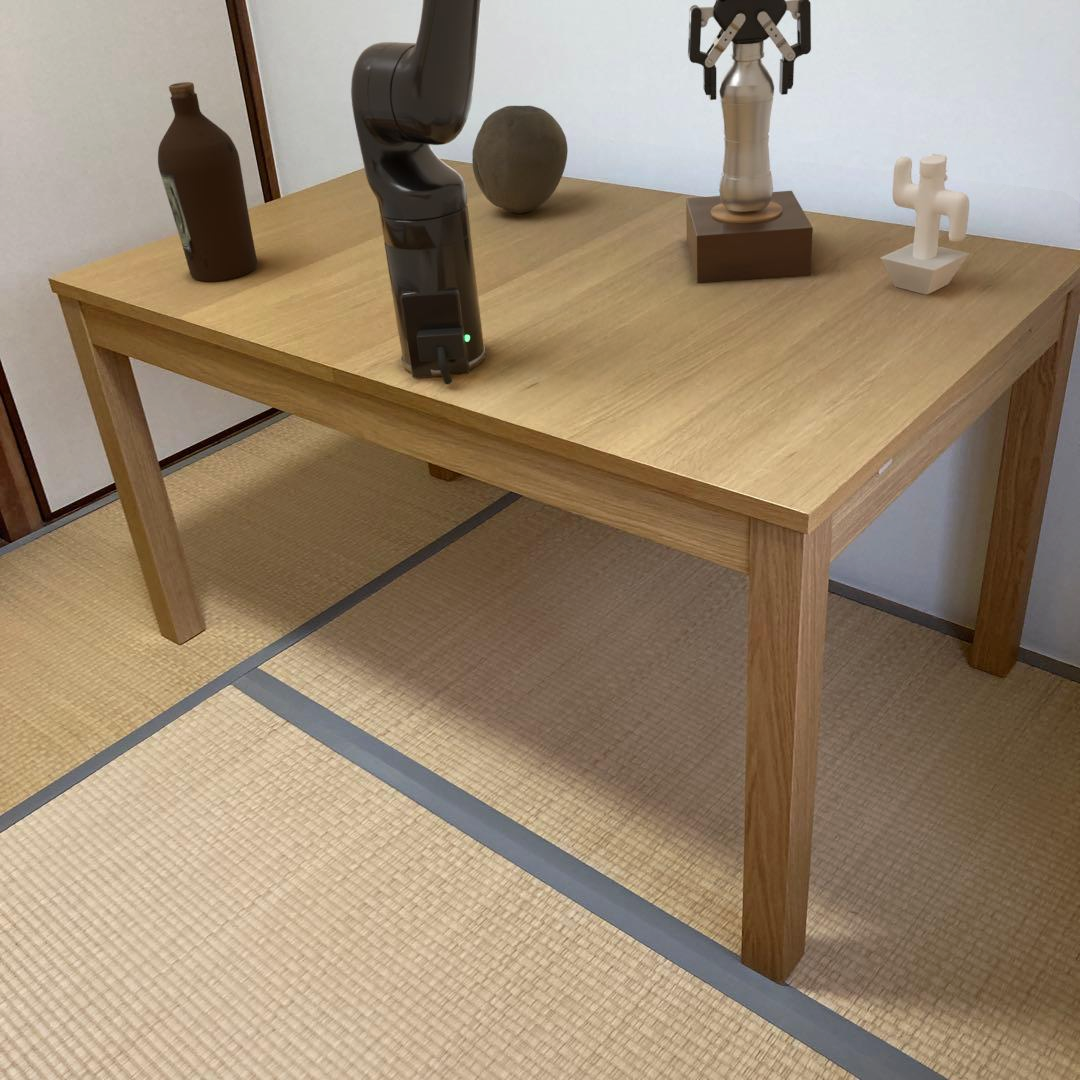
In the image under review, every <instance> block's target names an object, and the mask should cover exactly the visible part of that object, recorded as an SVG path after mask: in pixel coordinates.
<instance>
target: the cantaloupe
mask: <svg viewBox="0 0 1080 1080" xmlns="http://www.w3.org/2000/svg"><path fill="white" fill-rule="evenodd" d="M568 150H569V149H568V141H567V137H566V134H565V133H564V130H563V128H562V126H561V125H560V124H559V122H558V121H557V120H556V119H555V117H554V116H553V115H552V114H550V113H549V112H548V111H546V110H545V109H543V108H541V107H538V106H533V105H507V106H503V107H502V108H501V107H500V108H499V109H497V110H494V111H493V112H492V113H490V114H489V115H488V116H487V117H486V118H485V119H484V120H483V123H482V124H481V127H480V129H479V130H478V133H477V135H476V138H475V140H474V143H473V148H472V159H471V161H472V173H473V175H474V178H475V181H476V183H477V186H478V188H479V189H480V191H481V192H482V194H483V196H484V197H485V199H487V200H488V201H489V202H490V203H491V204H492V205H493V206H495V207H498V208H501V209H504V210H506V211H509V212H512V213H514V214H525V213H528V212H531V211H533V210H535V209H537V208H538V207H540V206H542V205H543V204H544V203H546V201H548V200H549V199H550V197H551V196H552V195H553V194H554V192H555V191H556V189H557V187H558V186H559V185H560V181H561V180H562V177H563V175H564V172H565V168H566V165H567V159H568V152H569V151H568Z"/></svg>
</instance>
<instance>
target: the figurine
mask: <svg viewBox="0 0 1080 1080" xmlns="http://www.w3.org/2000/svg"><path fill="white" fill-rule="evenodd" d="M947 159H948V158H947V155H945V154H941V153H932V154H931V155H927V156H924V157H922V158H920V159H919V182H918V183H913V180H912V171H913V170H912V169H913V160H912V158H911V157H909V156H901V157H899V158H897V159H896V161H894V169H893V179H892V200H893V203H894V204H895V205H896V206H897V207H900V208H904V209H908V210H909V209H910V210H914V211H915V225H914V234H913V235H914V236H913V242H911V243H909V244H907V245H904V246H903V247H901V248H899V249H896V250H894V251H892V252H889V253H886V254H885V255H883V256H881V257H879V259H880V261H881V263H882V265H883V267H884V268H885V271H886V273H887V274H888V276H889V278H890V280H891V282H892V284H893V286H894V287H895V288H898V289H901V290H902V289H903V290H906V291H910V292H914V293H917V294H922V295H926V296H927V295H929V294H932V293H933V292H935V291H938V290H939V289H941V288H943V287H946V286H947V285H949V284H950V282H951V281H952V279H953V278H954V276H955V275H956V274H957V273H958V271H959V269H960V268H961V266H962V265H963V264H964V262H965V260H966V259H967V258H968V257H969V255H970V252H967V251H963V250H957V249H954V248H953V249H952V248H948V247H943V246H939V237H940V227H941V218H942V217H941V216H946V217H947V218H948V222H949V223H948V224H949V226H948V227H949V228H948V239H949V241H950V242H953V243H956V242H957V243H958V242H962V241H963V240H964V239H965V238H966V237H967V231H968V222H969V214H970V199H969V197H968V195H967V194H966V193H964V192H961V191H956V190H951V189H946V187H945V182H947V181H948V174H947V162H948V161H947Z"/></svg>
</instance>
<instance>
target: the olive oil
mask: <svg viewBox="0 0 1080 1080" xmlns="http://www.w3.org/2000/svg"><path fill="white" fill-rule="evenodd" d="M168 90H169V93H170V95H171V96H170V102H171V106H172V110H173V112H174V113H173V114H174V117H173V120H172V121H171V124H169V127H168V129H167V130H166V132H165V134H164V135H163V137H162V139H161V141H160V143H159V145H158V150H157V165H158V171H159V175H160V177H161V181H162V184H163V187H164V190H165V194H166V197H167V200H168V203H169V206H170V209H171V212H172V213H171V214H172V216H173V219H174V223H175V226H176V230H177V232H178V236H179V239H180V243H181V247H182V250H183V252H184V256H185V260H186V263H187V266H188V267H187V268H188V270H189V274H190V277H191V278H193V279H194V280H197V281H201V282H221V281H227V280H228V281H229V280H232V279H237V278H240V277H243V276H245V275H248V274H251V273H252V272H253V271H255V270H256V269H257V267H258V258H257V257H258V256H257V253H256V248H255V247H256V246H255V243H254V237H253V231H252V226H251V221H250V215H249V208H248V204H247V196H246V191H245V184H244V177H243V173H242V172H243V171H242V165H241V160H240V155H239V152H238V149H237V147H236V145H235V143H234V141H233V139H232V138H231V136H229V134H228V133H227V132H226V131H225V130H223V129H222V128H220V126H218V125H217V124H216V123H214V122H213V121H212V120H210V119H209V118H208V117H206V116H205V115H204V114H203V112H202V111H201V109H200V103H199V98H198V94H197V92H195V85H194V83H193V82H190V81H182V82H177V83H172V84H169V86H168Z"/></svg>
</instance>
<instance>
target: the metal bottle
mask: <svg viewBox="0 0 1080 1080" xmlns="http://www.w3.org/2000/svg"><path fill="white" fill-rule="evenodd" d="M764 45H765V42H764V41H763V42H758V43H756V42H752V41H749V42H746V43H744V44H736V43H734V42H732V41H731V54H730V60H732V64H731V66H730V67H729V68H728V70H727V71H726V72H725V74H724V76H723V78H722V79H721V81H720V84H719V88H718V93H719V94H718V95H719V97H718V98H719V103H720V110H721V117H722V128H723V130H722V131H723V136H724V137H723V158H722V160H723V161H722V172H721V174H720V181H719V189H718V191H719V196H720V198H721V202H722V204H723V205H724V207H725V208H726V209H728V210H732V211H740V212H748V211H756V210H761V209H763V208H765V207H767V206H768V204H769V203H770V201H771V199H772V193H773V192H774V182H773V176H772V172H771V171H772V170H771V164H770V163H771V159H770V147H769V146H770V145H769V142H770V135H769V133H770V127H771V126H770V125H771V116H772V109H773V103H774V96H775V85H774V80H773V78H772V76H771V74H770V72H769V70H768V69H767V68H766V67H765V65H764V63H763V62H762V59H763V58H764V57H765V51H764Z"/></svg>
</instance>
